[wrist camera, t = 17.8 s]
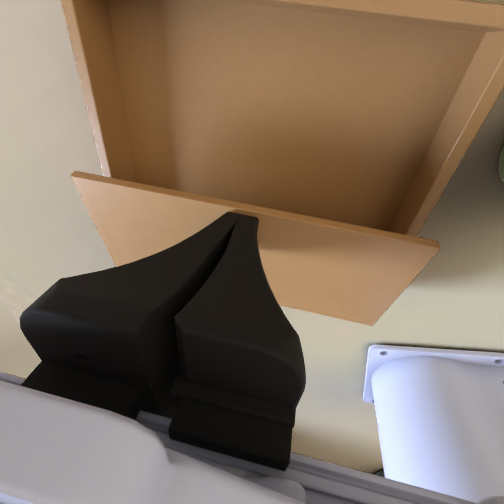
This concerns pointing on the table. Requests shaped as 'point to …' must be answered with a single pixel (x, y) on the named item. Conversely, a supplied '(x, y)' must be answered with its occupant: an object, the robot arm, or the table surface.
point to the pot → (501, 165)
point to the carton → (291, 99)
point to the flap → (265, 245)
